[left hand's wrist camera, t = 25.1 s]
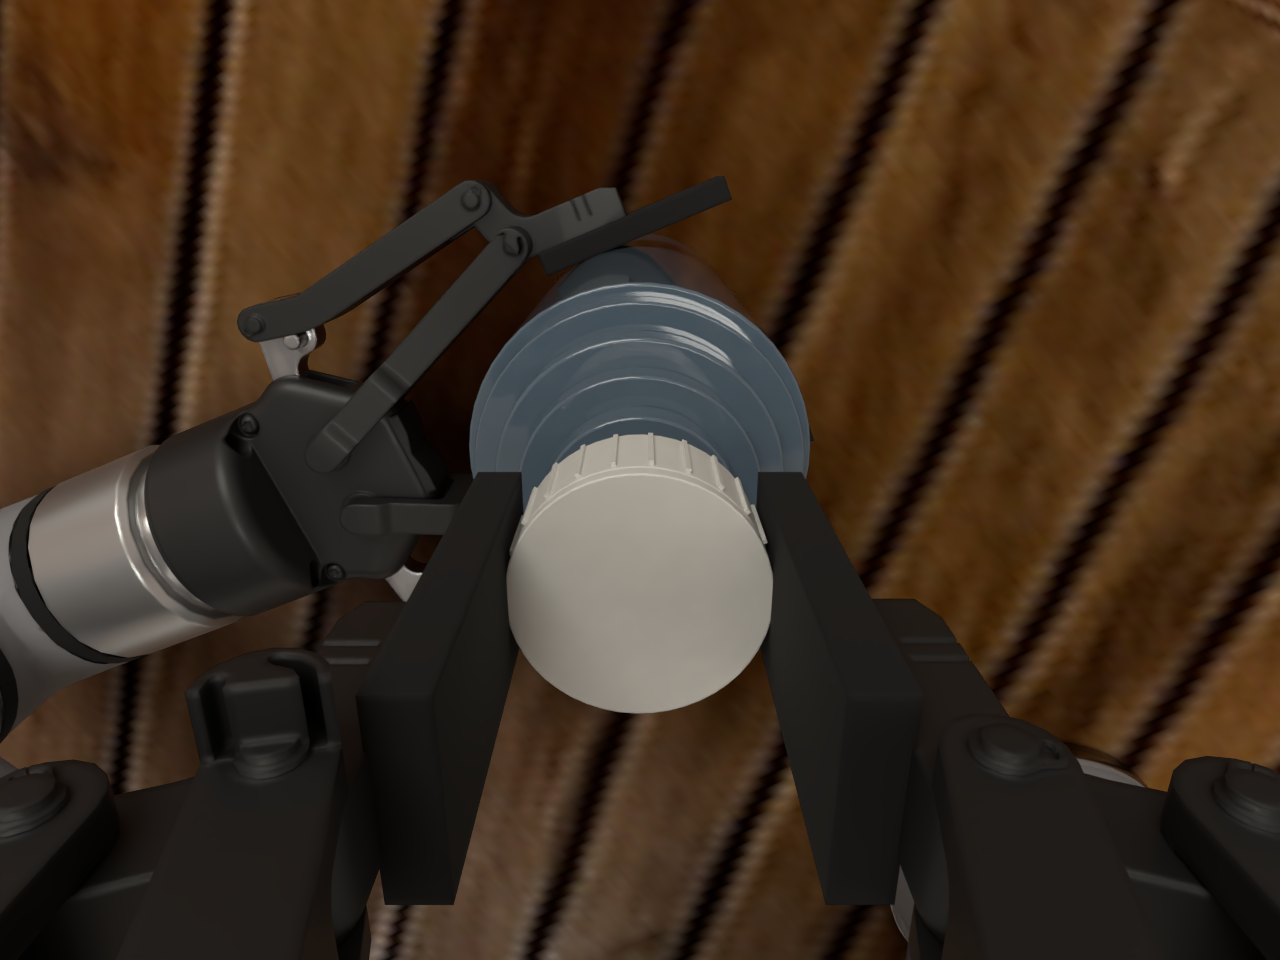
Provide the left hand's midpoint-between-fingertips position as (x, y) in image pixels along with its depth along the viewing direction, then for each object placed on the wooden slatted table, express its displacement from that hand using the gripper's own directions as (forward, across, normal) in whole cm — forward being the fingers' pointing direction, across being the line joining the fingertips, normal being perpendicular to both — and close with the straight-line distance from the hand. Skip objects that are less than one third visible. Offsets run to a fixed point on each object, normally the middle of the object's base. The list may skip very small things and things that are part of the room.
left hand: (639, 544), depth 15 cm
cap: (-2, 0, 0) cm, 2 cm away
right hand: (+16, -4, -2) cm, 17 cm away
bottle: (+22, 0, 0) cm, 22 cm away
